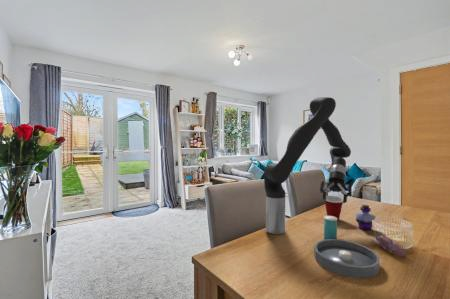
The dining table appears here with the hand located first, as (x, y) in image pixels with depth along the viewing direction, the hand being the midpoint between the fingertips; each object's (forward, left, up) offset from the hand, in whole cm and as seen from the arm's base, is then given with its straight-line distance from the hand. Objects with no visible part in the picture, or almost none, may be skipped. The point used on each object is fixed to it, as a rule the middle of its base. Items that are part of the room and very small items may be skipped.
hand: (334, 201), depth 109 cm
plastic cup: (+4, +18, -15) cm, 24 cm away
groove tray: (-3, -29, -15) cm, 32 cm away
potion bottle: (+16, +6, -15) cm, 23 cm away
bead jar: (-4, -11, -15) cm, 19 cm away
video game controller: (+17, -18, -15) cm, 28 cm away
